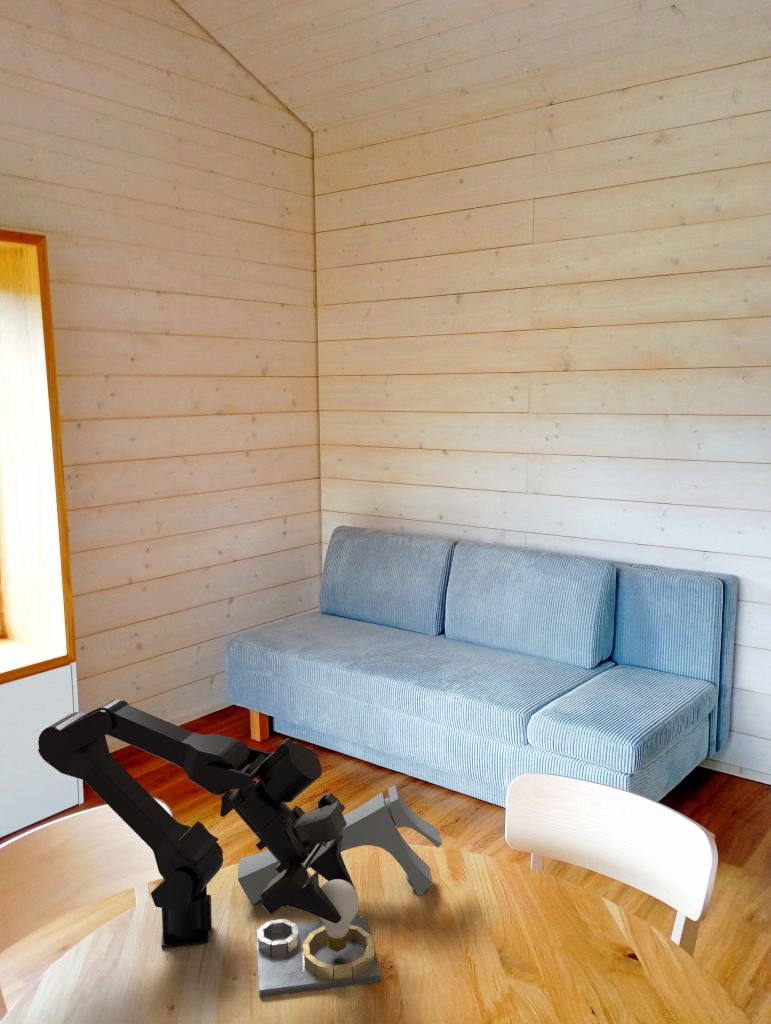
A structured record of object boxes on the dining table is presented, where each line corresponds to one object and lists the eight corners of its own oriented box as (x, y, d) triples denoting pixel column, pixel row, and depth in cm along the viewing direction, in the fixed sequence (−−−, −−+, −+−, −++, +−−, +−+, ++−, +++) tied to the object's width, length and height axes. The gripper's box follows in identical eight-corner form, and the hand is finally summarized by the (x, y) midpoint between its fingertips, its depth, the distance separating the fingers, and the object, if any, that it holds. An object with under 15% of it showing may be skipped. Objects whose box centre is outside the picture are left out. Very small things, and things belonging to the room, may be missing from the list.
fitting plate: (259, 997, 111) (259, 979, 110) (255, 935, 123) (255, 919, 123) (380, 981, 114) (380, 964, 113) (365, 922, 126) (364, 906, 126)
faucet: (285, 966, 132) (459, 880, 132) (236, 878, 129) (414, 790, 130) (287, 940, 138) (453, 858, 138) (239, 856, 135) (409, 772, 136)
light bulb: (367, 952, 117) (367, 884, 116) (331, 970, 113) (331, 900, 112) (342, 931, 122) (342, 865, 120) (307, 947, 118) (307, 880, 116)
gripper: (282, 819, 106) (366, 916, 105) (333, 758, 124) (405, 841, 123) (226, 867, 110) (306, 962, 108) (283, 801, 127) (353, 882, 126)
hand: (346, 907), depth 116 cm, fingers closed on light bulb, 6 cm apart
